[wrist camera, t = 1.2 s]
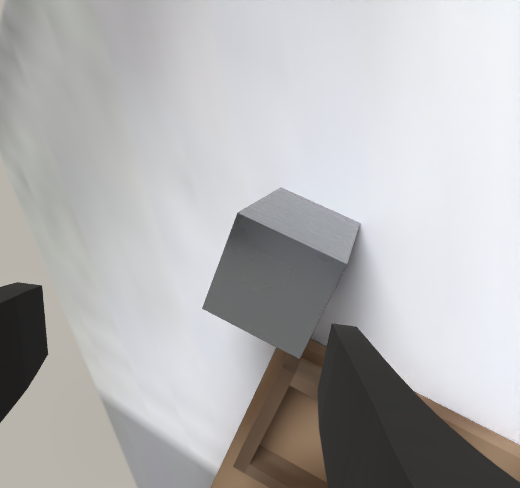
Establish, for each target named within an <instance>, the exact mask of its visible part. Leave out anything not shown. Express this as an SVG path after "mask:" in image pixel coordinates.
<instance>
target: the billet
mask: <svg viewBox="0 0 520 488" xmlns="http://www.w3.org/2000/svg"><path fill="white" fill-rule="evenodd" d="M359 225H360V223H359V222H356V221H354V220H352V219H350V218H348V217H345V216H343V215H341V214H339V213H336V212H334V211H332V210H330V209H328V208H325V207H323V206H321V205H319V204H317V203H314V202H312V201H310V200H308V199H305V198H303V197H301V196H299V195H297V194H294V193H292V192H290V191H288V190H285V189H283V188H279V189H278V190H276V191H274V192H272V193H271V194H269V195H267V196H266V197H264V198H262V199H260V200H259V201H257V202H255V203H254V204H252V205H250V206H248V207H247V208H245V209H243V210H241V211H240V212H238V213H237V216H236V219H235V221H234V224H233V227H232V229H231V232H230V235H229V238H228V240H227V243H226V246H225V248H224V251H223V254H222V256H221V259H220V262H219V265H218V267H217V270H216V273H215V275H214V278H213V281H212V283H211V286H210V289H209V291H208V294H207V297H206V300H205V302H204V305H203V308H202V309H204V310H206V311H208V312H210V313H212V314H214V315H216V316H218V317H219V318H221V319H223V320H225V321H227V322H229V323H231V324H233V325H235V326H237V327H239V328H241V329H243V330H244V331H246V332H248V333H250V334H252V335H254V336H256V337H258V338H260V339H262V340H264V341H266V342H268V343H270V344H271V345H273V346H275V347H277V348H279V349H281V350H283V351H285V352H287V353H289V354H291V355H293V356H295V357H296V358H298V359H300V357H301V355H302V353H303V351H304V349H305V347H306V345H307V343H308V341H309V339H310V337H311V335H312V333H313V331H314V329H315V327H316V325H317V323H318V321H319V319H320V317H321V315H322V313H323V311H324V309H325V307H326V305H327V304H328V302H329V300H330V298H331V296H332V294H333V292H334V290H335V288H336V286H337V284H338V282H339V280H340V278H341V276H342V274H343V272H344V270H345V268H346V266H347V263H348V260H349V257H350V254H351V251H352V248H353V244H354V241H355V238H356V235H357V232H358V228H359Z"/></svg>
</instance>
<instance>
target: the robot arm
mask: <svg viewBox="0 0 520 488" xmlns="http://www.w3.org/2000/svg"><path fill="white" fill-rule="evenodd" d="M47 355H48V348H47V337H46V326H45V314H44V303H43V291H42V286H41V285H34V284H26V283H18V282H17V283H13V284H9V285H6V286H3V287H0V422H1V421H2V420H3V419H4V418H5V416H6V415H7V414H8V413H9V411H10V410H11V409H12V407H13V406H14V405H15V404H16V403H17V401H18V400H19V399H20V397H21V396H22V395H23V394H24V392H25V391H26V390H27V388H28V387H29V385H30V383H31V382H32V380H33V378H34V377H35V375H36V374H37V372H38V370H39V369H40V367H41V365H42V364H43V362H44V360H45V358H46V357H47ZM318 421H319V433H320V440H321V446H322V453H323V459H324V466H325V472H326V478H327V485H328V488H520V482H519V481H517V480H516V479H515V478H513V477H512V476H511V475H509V474H508V473H506V472H505V471H504V470H502V469H501V468H500V467H498V466H497V465H496V464H495V463H493V462H492V461H491V460H489V459H488V458H487V457H486V456H484V455H483V454H482V453H481V452H479V451H478V450H477V449H476V448H475V447H473V446H472V445H471V444H470V443H469V442H468V441H466V440H465V439H464V438H463V437H462V436H461V435H459V434H458V433H457V432H456V431H455V430H454V429H452V428H451V427H450V426H449V425H448V424H447V423H446V422H445V421H444V420H442V419H441V418H440V417H439V416H438V415H437V414H436V413H435V412H434V411H433V410H432V409H431V408H430V407H429V406H428V405H427V404H426V403H425V402H424V401H423V400H422V399H421V398H420V397H419V396H418V395H417V394H416V393H415V392H414V391H413V390H412V389H411V388H410V387H409V386H408V385H407V384H406V383H405V382H404V381H403V379H402V378H401V377H400V376H399V375H398V374H397V373H396V372H395V371H394V370H393V368H392V367H391V366H390V365H389V364H388V363H387V362H386V361H385V359H384V358H383V357H382V356H381V355H380V354H379V352H378V351H377V350H376V349H375V348H374V347H373V345H372V344H371V343H370V342H369V341H368V339H367V338H366V337H365V336H364V335H363V334H362V332H361V331H360V330H359V329H358V328H357V327H353V326H345V325H338V324H332V325H331V330H330V334H329V339H328V343H327V348H326V353H325V357H324V362H323V367H322V371H321V376H320V380H319V385H318Z"/></svg>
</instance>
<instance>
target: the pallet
mask: <svg viewBox="0 0 520 488" xmlns="http://www.w3.org/2000/svg"><path fill="white" fill-rule="evenodd" d="M326 348H327V347H326V346H324V345H322V344H320V343H318V342H316V341H314V340H312V339H309V341H308V343H307V345H306V347H305V349H304V351H303V353H302V355H301V357H300V359H298V358H296V357H295V356H293V355H291V354H289V353H287V352H285V351H283V350H281V349H279V348H276V350H275V352H274V354H273V356H272V358H271V360H270V363H269V365H268V367H267V369H266V371H265V373H264V375H263V377H262V380H261V382H260V384H259V386H258V388H257V390H256V392H255V394H254V397H253V399H252V401H251V403H250V405H249V407H248V409H247V411H246V414H245V416H244V418H243V420H242V422H241V424H240V426H239V428H238V431H237V433H236V435H235V437H234V439H233V441H232V443H231V445H230V448H229V450H228V452H227V454H226V456H225V458H224V460H223V462H222V465H221V467H220V469H219V471H218V473H217V475H216V477H215V479H214V482H213V484H212V486H211V488H328V485H327V478H326V472H325V466H324V459H323V453H322V446H321V440H320V433H319V421H318V385H319V380H320V376H321V371H322V367H323V362H324V357H325V353H326ZM415 393H416V392H415ZM416 394H417V395H418V396H419V397H420V398H421V399H422V400H423V401H424V402H425V403H426V404H427V405H428V406H429V407H430V408H431V409H432V410H433V411H434V412H435V413H436V414H437V415H438V416H439V417H440V418H441V419H442V420H444V421H445V422H446V423H447V424H448V425H449V426H450V427H451V428H452V429H454V430H455V431H456V432H457V433H458V434H459V435H461V436H462V437H463V438H464V439H465V440H466V441H468V442H469V443H470V444H471V445H472V446H473V447H475V448H476V449H477V450H478V451H479V452H481V453H482V454H483V455H484V456H486V457H487V458H488V459H489V460H491V461H492V462H493V463H495V464H496V465H497V466H498V467H500V468H501V469H502V470H504V471H505V472H506V473H508V474H509V475H511V476H512V477H513V478H515V479H516V480H517V481H519V482H520V445H518V444H516V443H514V442H512V441H510V440H508V439H506V438H505V437H503V436H501V435H499V434H497V433H495V432H493V431H491V430H489V429H487V428H485V427H483V426H481V425H479V424H477V423H475V422H473V421H471V420H469V419H467V418H465V417H463V416H461V415H459V414H457V413H455V412H453V411H451V410H449V409H448V408H446V407H444V406H442V405H440V404H438V403H436V402H434V401H432V400H430V399H428V398H426V397H424V396H422V395H420V394H418V393H416Z"/></svg>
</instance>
